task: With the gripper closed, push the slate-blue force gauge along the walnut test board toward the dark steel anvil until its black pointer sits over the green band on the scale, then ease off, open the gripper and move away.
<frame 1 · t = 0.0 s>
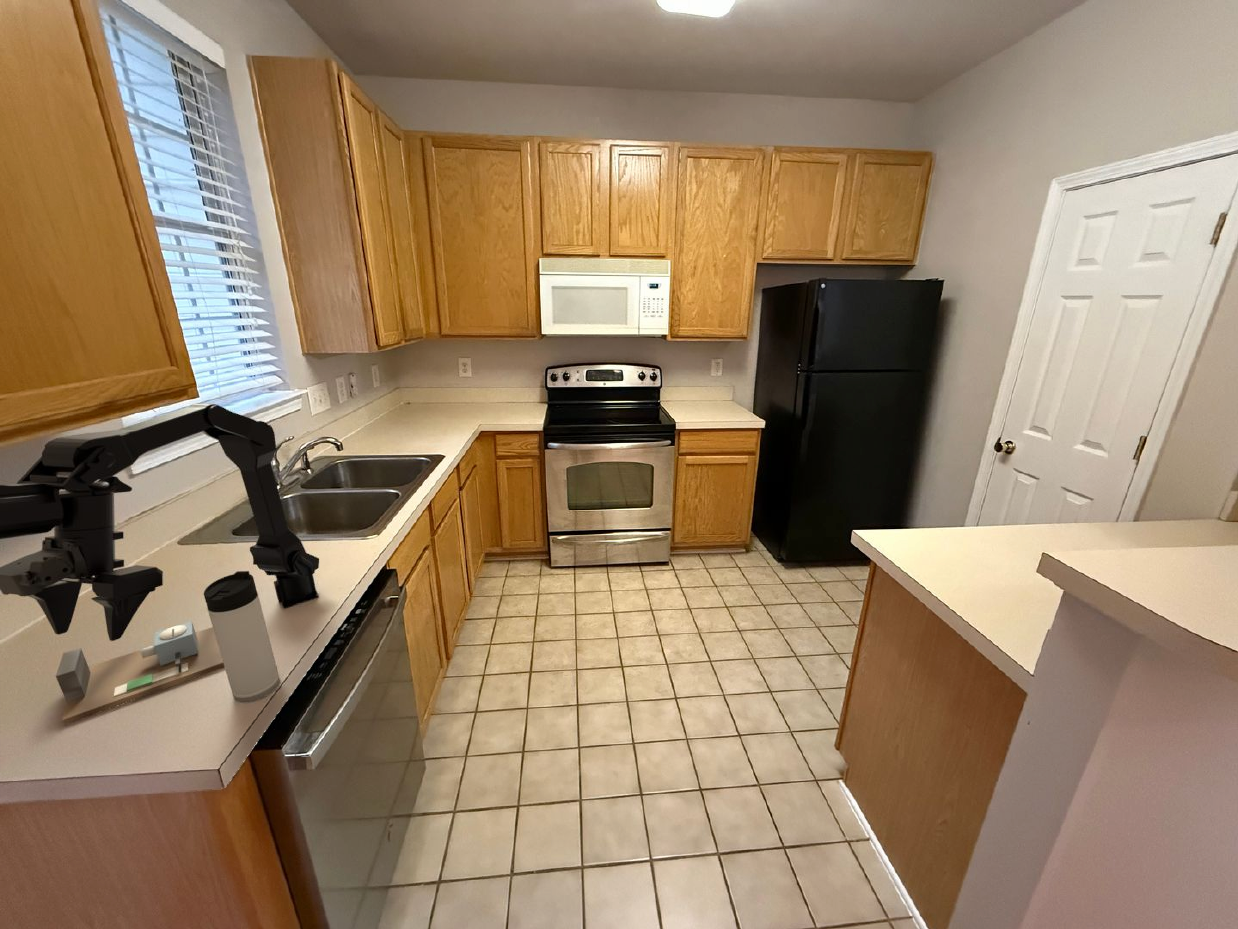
hand: (88, 636, 69), 15 cm above the countertop, tool pointing down, fingers open, 9 cm apart
travel mug: (258, 689, 81), on the countertop
force gauge: (168, 649, 85), point 3 cm above the countertop, slide at 0.0 cm
gauge board: (163, 664, 86), on the countertop
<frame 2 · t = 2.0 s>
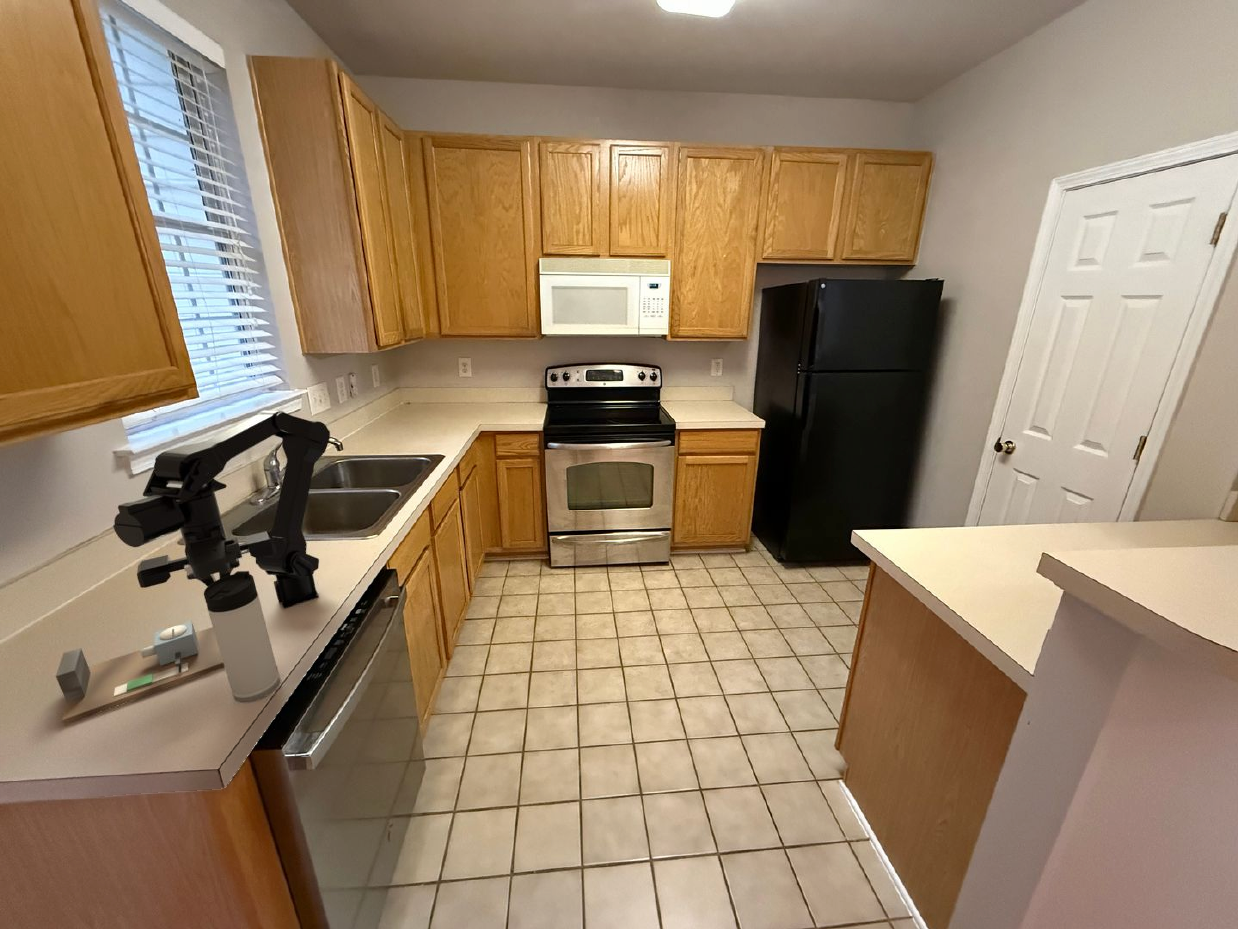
hand: (222, 598, 90), 9 cm above the countertop, tool pointing down, fingers closed
nothing on the countertop moved.
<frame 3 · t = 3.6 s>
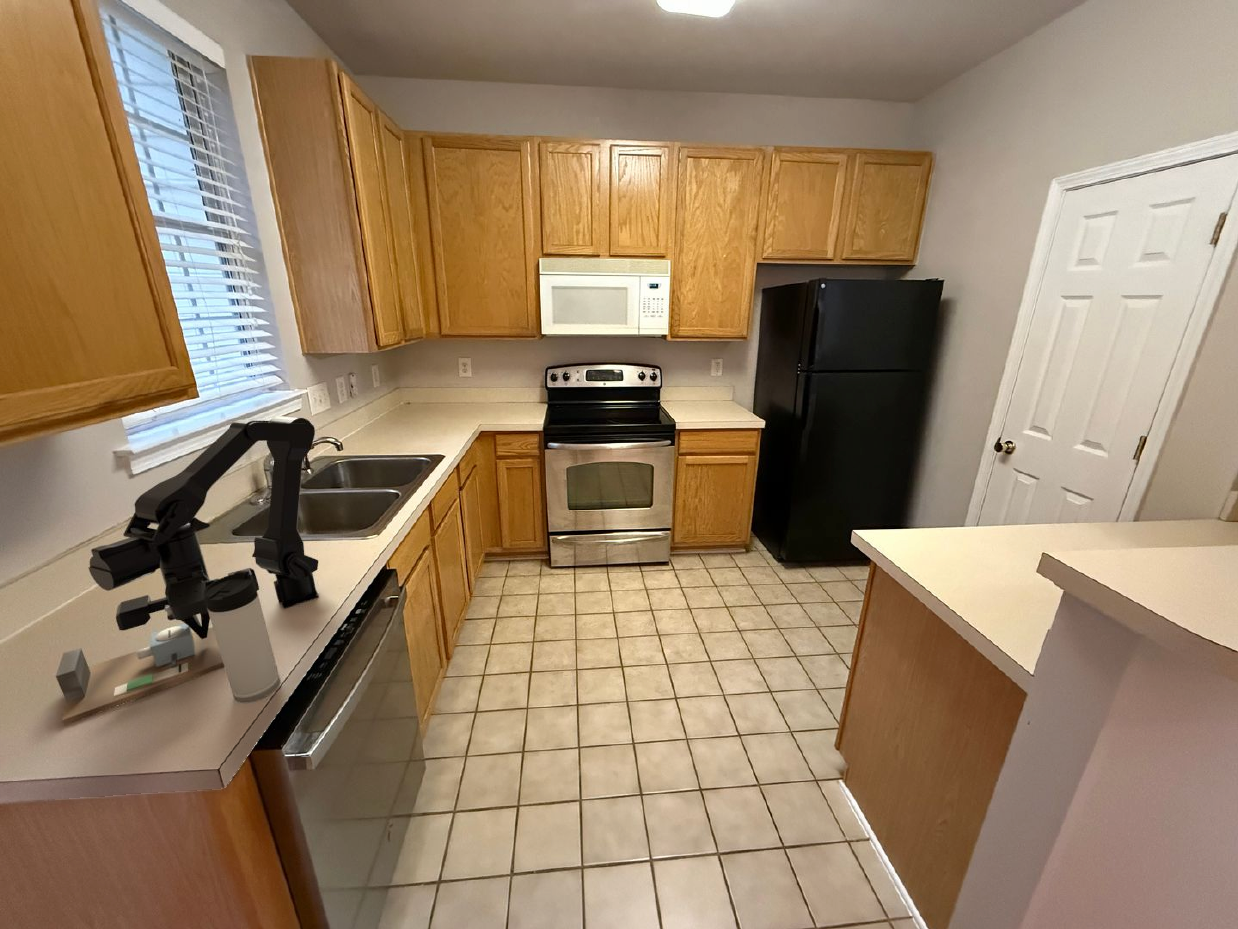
hand: (204, 637, 89), 3 cm above the countertop, tool pointing down, fingers closed
force gauge: (165, 650, 84), point 3 cm above the countertop, slide at 0.5 cm, touching gripper
everything else where it was.
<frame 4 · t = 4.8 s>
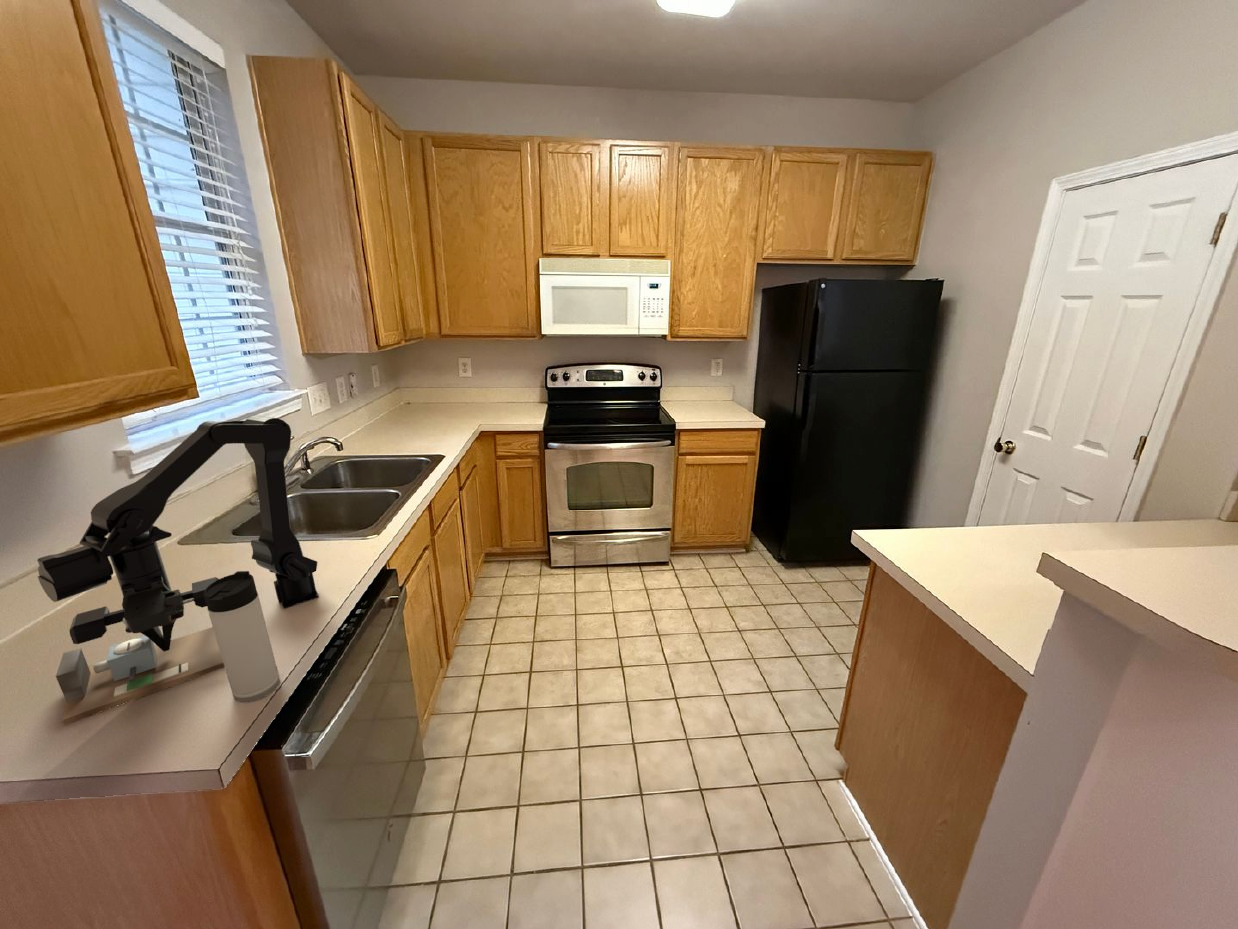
hand: (166, 649, 86), 3 cm above the countertop, tool pointing down, fingers closed
force gauge: (123, 664, 81), point 3 cm above the countertop, slide at 5.6 cm, touching gripper
everything else where it was.
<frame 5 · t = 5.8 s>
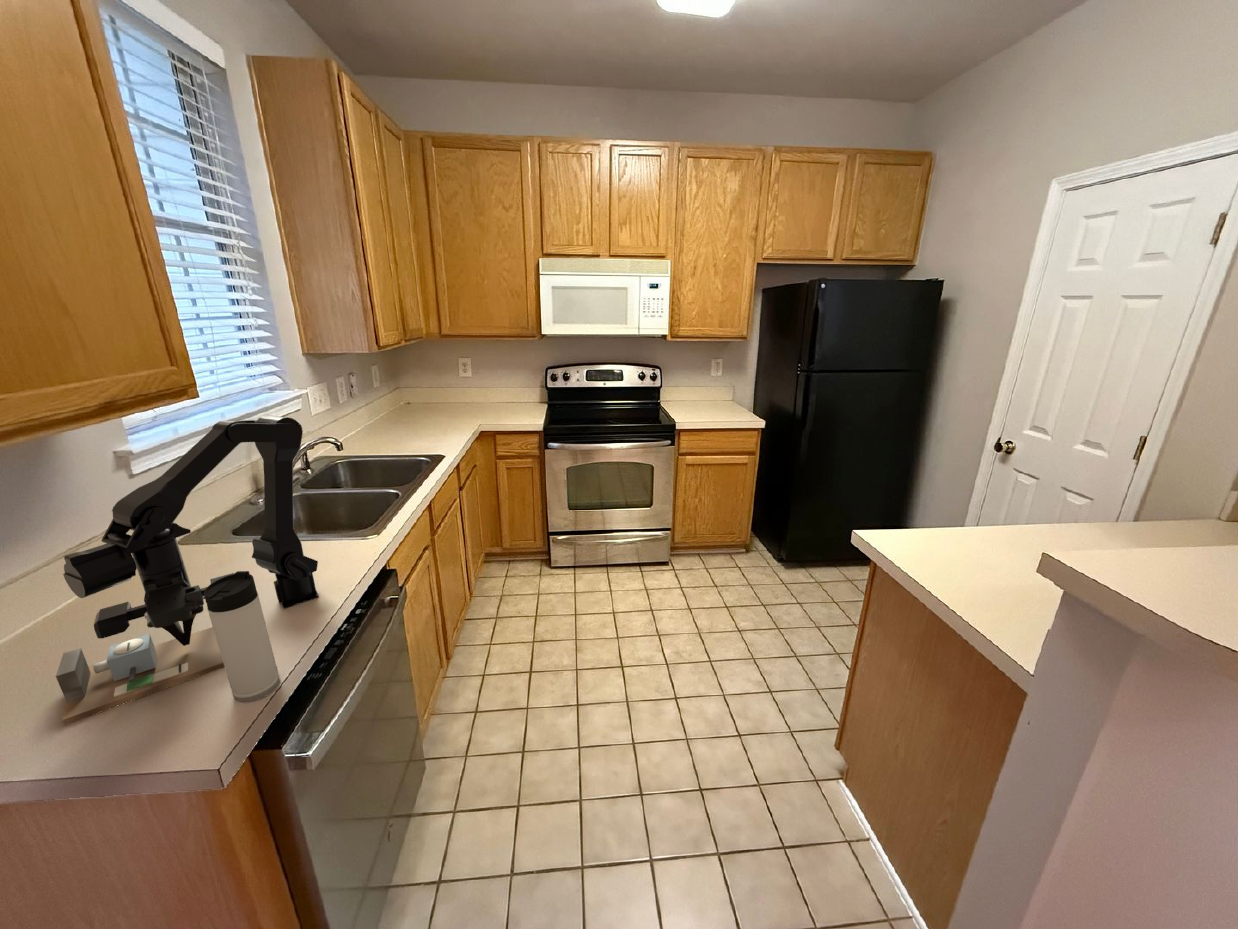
hand: (186, 644, 88), 2 cm above the countertop, tool pointing down, fingers closed
force gauge: (123, 664, 81), point 3 cm above the countertop, slide at 5.7 cm
everything else where it was.
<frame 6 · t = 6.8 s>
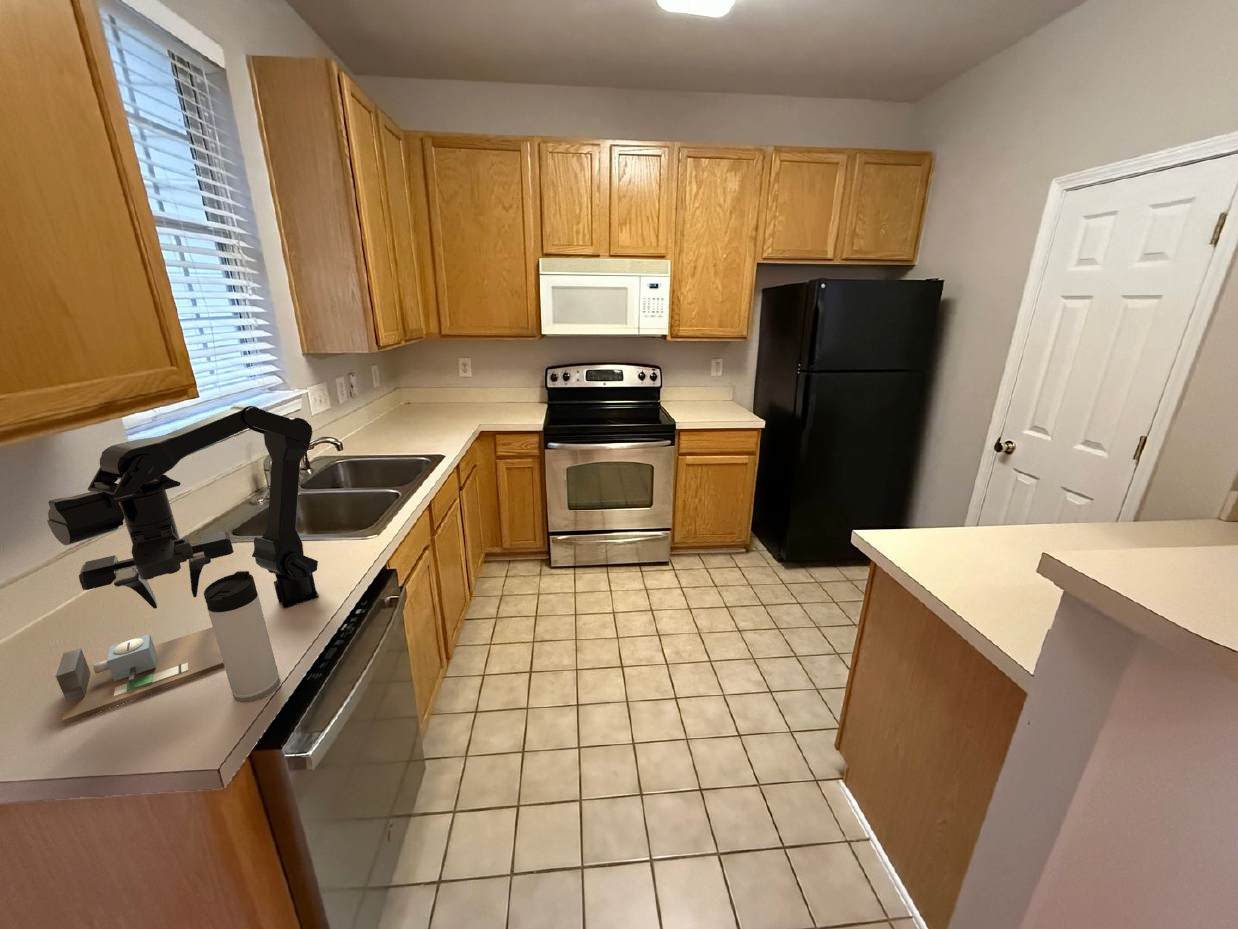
hand: (175, 601, 85), 11 cm above the countertop, tool pointing down, fingers open, 5 cm apart
nothing on the countertop moved.
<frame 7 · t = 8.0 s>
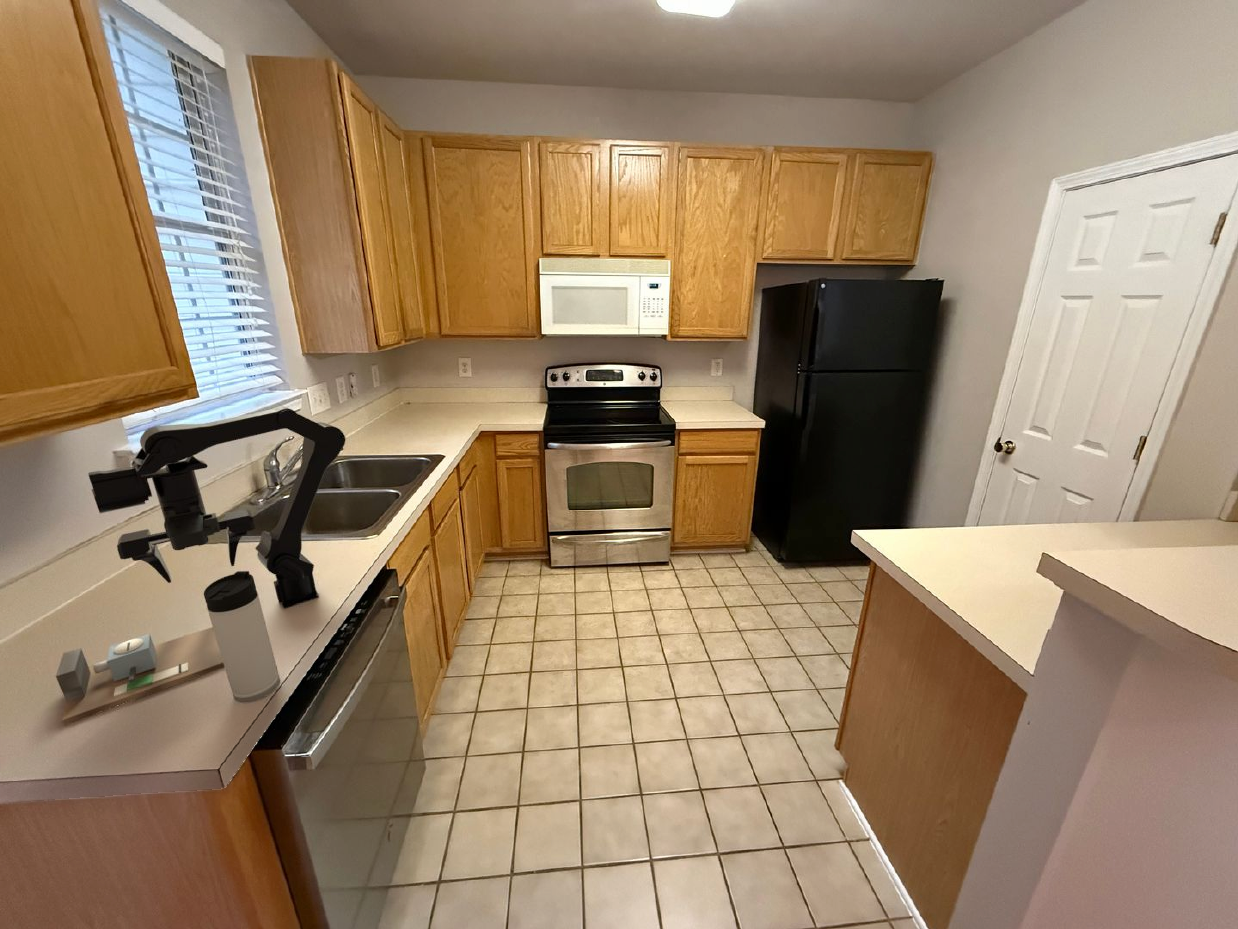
hand: (202, 573, 93), 12 cm above the countertop, tool pointing down, fingers open, 9 cm apart
nothing on the countertop moved.
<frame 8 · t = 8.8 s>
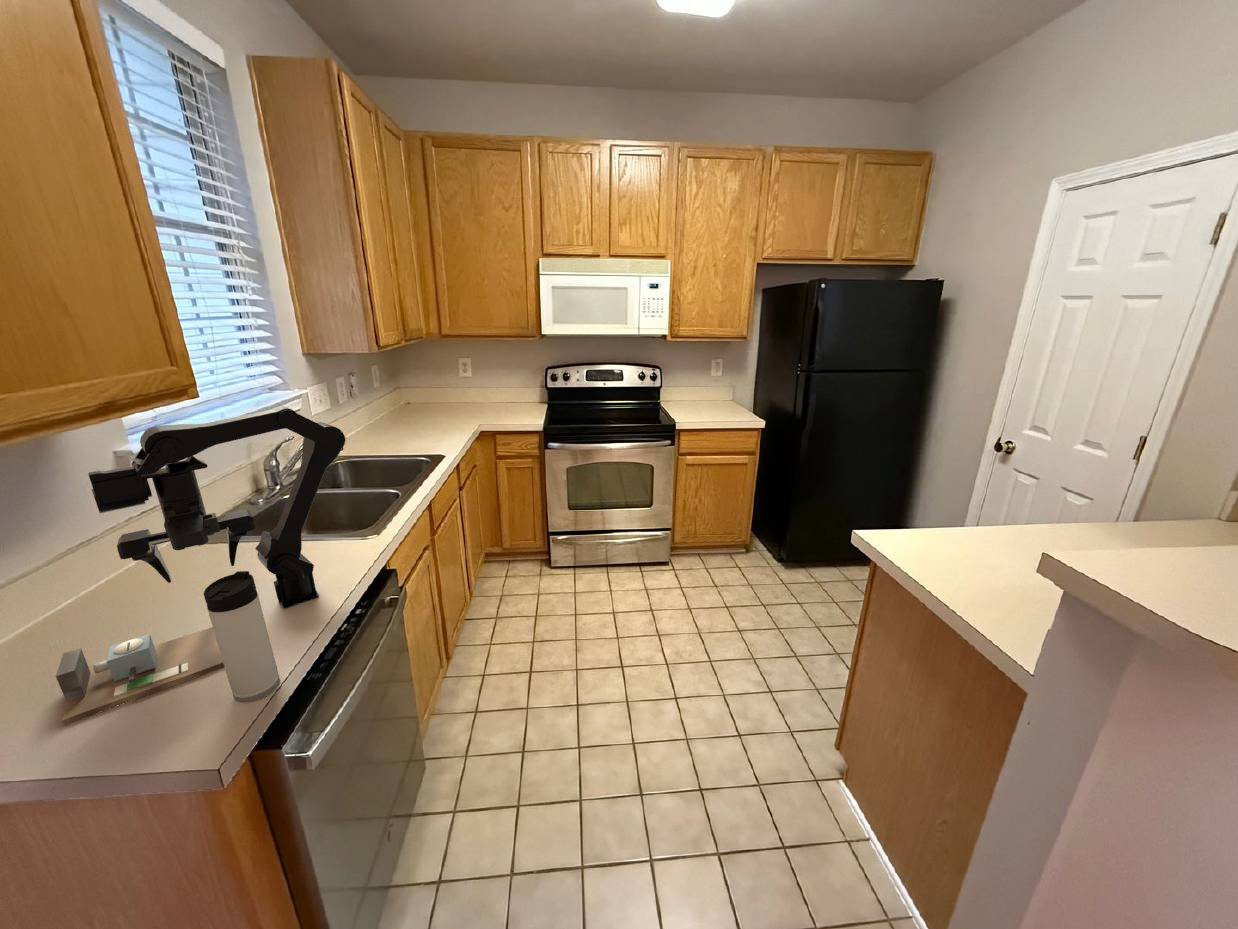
hand: (202, 573, 93), 12 cm above the countertop, tool pointing down, fingers open, 9 cm apart
nothing on the countertop moved.
at the end: force gauge slide at 5.7 cm; travel mug moved 0.2 cm from its start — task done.
